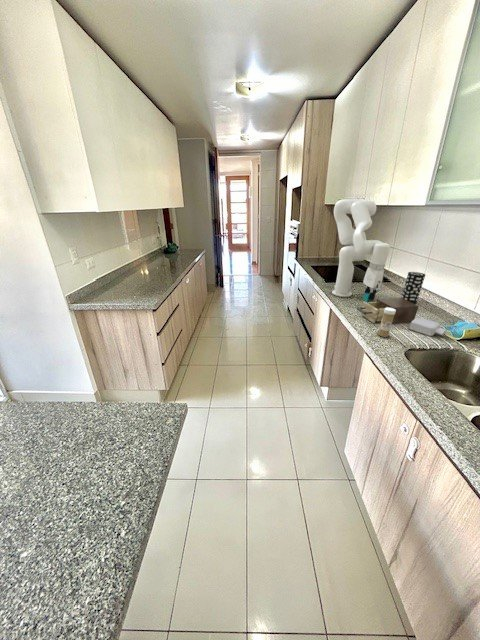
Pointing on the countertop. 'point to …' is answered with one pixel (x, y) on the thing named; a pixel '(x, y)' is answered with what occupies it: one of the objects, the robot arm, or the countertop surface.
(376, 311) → the tray
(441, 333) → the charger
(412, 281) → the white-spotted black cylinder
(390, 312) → the sprinkles bottle
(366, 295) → the pod
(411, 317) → the cabinet
